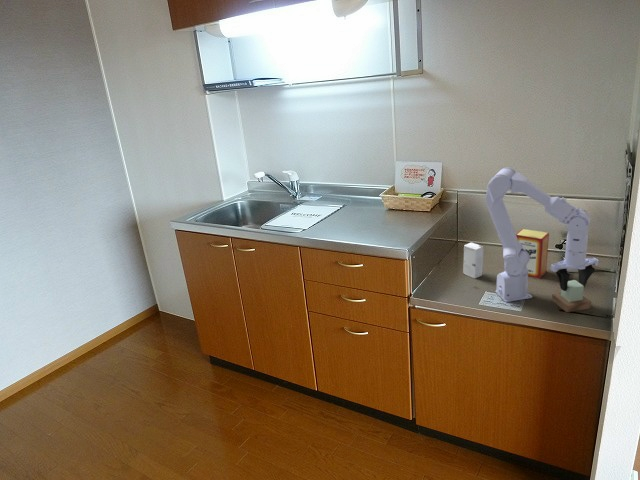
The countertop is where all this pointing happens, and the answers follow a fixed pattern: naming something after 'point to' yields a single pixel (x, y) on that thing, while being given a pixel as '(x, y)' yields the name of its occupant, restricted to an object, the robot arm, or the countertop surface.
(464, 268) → the skincare box
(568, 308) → the walnut block
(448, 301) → the countertop surface
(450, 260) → the countertop surface
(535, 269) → the baking soda box
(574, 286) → the sage block
